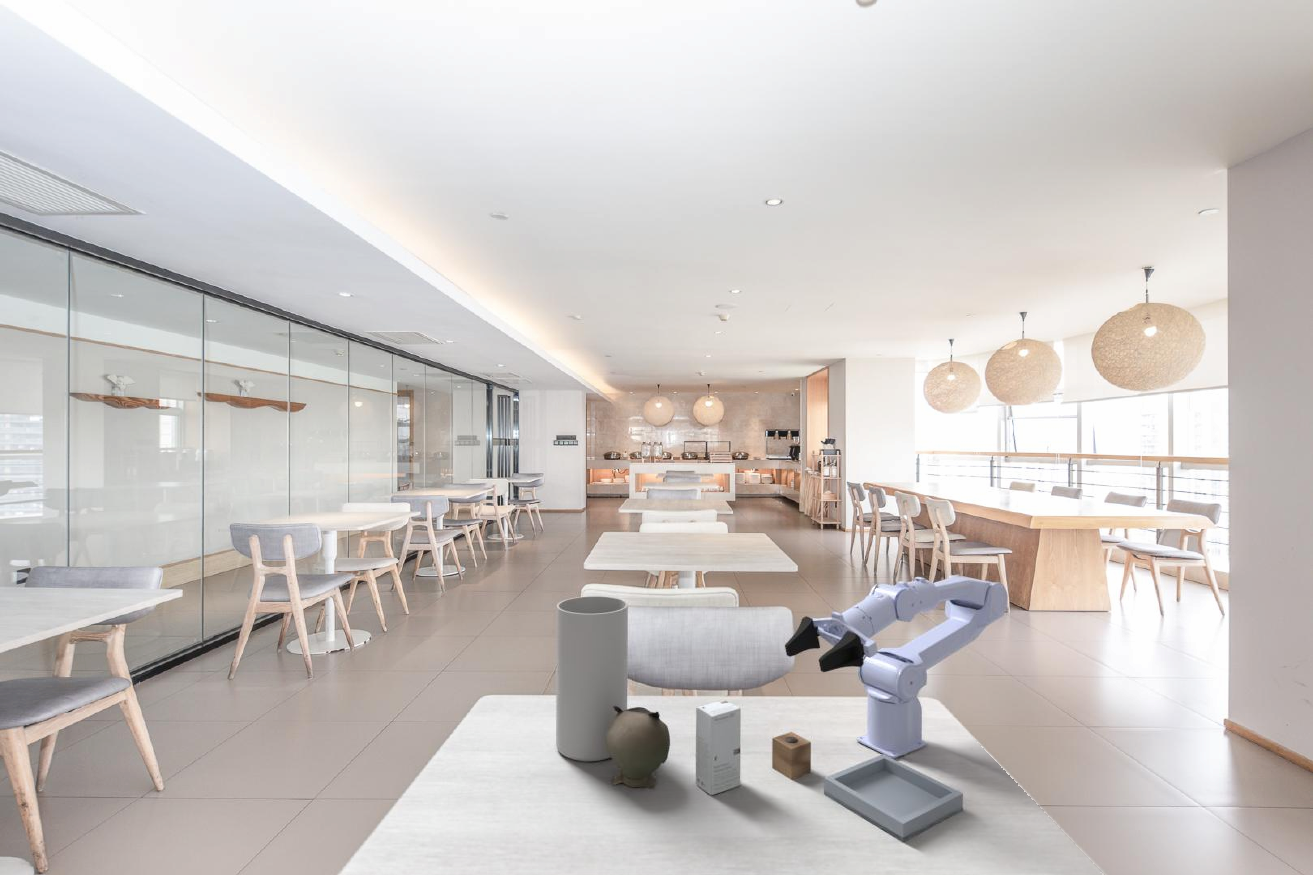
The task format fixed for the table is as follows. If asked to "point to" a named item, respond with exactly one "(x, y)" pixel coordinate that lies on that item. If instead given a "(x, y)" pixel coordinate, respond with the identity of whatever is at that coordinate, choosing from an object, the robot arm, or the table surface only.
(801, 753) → the walnut block
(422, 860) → the table surface
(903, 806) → the slate tray
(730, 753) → the skincare box
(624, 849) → the table surface
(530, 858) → the table surface
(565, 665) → the cylinder vase
